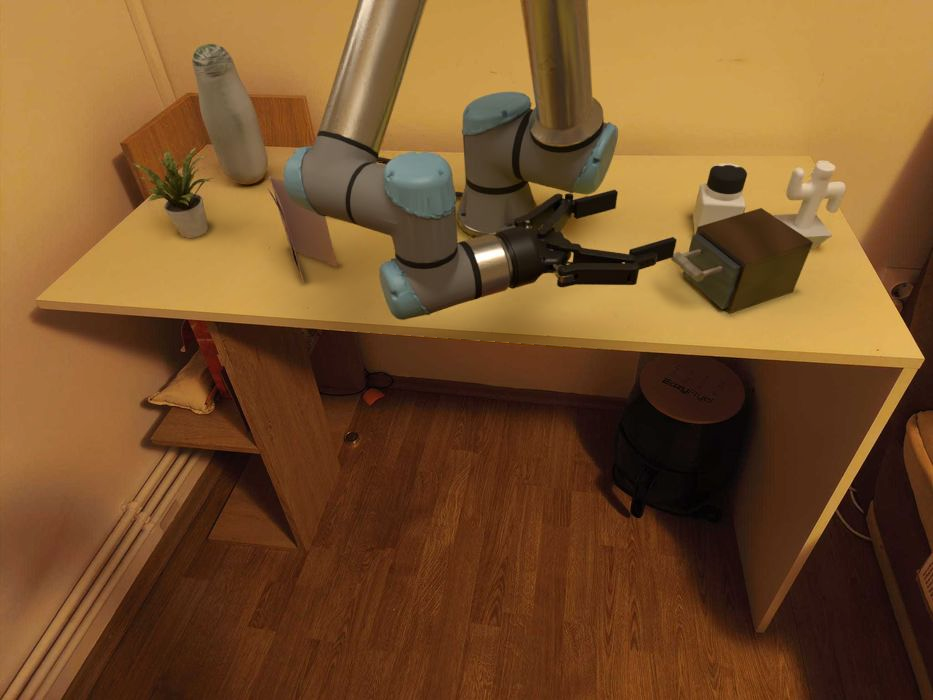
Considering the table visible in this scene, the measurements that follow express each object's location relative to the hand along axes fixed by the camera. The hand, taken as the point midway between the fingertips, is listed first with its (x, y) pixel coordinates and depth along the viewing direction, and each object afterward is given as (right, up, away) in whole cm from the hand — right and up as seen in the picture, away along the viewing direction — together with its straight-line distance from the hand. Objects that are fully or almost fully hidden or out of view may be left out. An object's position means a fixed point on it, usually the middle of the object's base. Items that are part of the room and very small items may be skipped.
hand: (642, 221), depth 84 cm
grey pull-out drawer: (+17, -7, +16) cm, 24 cm away
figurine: (+34, +1, +25) cm, 43 cm away
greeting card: (-52, -1, +28) cm, 59 cm away
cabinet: (+21, -6, +18) cm, 28 cm away
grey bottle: (-72, +20, +52) cm, 91 cm away
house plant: (-77, +6, +37) cm, 85 cm away
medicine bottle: (+22, +5, +30) cm, 37 cm away
